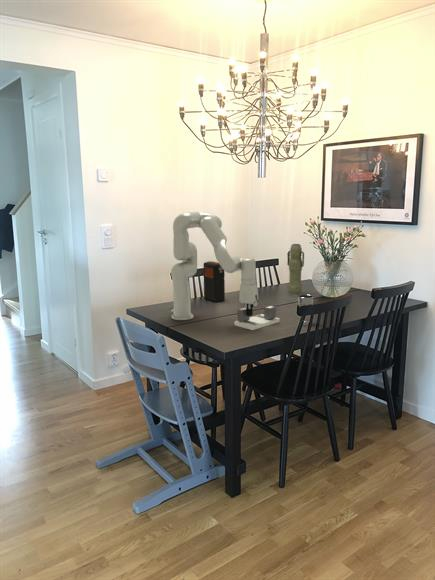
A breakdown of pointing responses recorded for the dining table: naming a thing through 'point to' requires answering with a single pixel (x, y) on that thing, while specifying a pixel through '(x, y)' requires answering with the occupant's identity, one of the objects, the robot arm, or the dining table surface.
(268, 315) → the handle
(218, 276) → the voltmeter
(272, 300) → the dining table surface
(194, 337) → the dining table surface
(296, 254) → the olive green tall statue
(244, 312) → the grey rounded block
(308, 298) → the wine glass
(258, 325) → the white rectangular tray
